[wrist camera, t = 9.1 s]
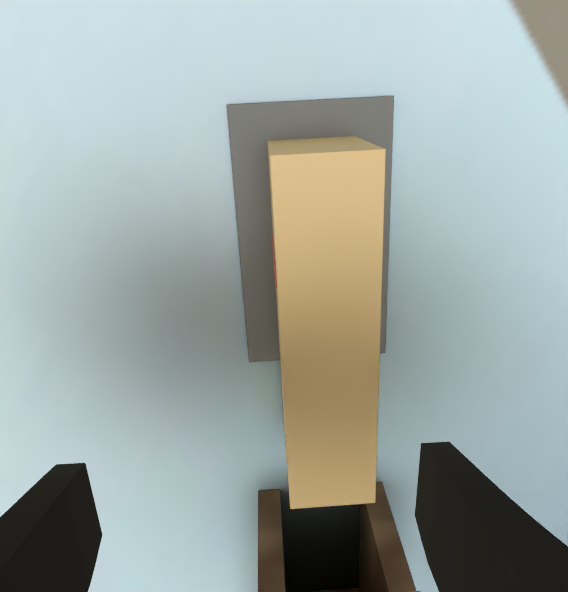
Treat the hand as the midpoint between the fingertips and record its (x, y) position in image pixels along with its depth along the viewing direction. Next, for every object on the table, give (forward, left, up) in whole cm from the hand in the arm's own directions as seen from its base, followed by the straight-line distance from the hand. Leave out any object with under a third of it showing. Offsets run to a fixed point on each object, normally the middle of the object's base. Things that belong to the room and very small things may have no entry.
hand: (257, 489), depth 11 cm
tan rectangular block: (-2, +1, -9) cm, 10 cm away
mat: (-3, -1, -10) cm, 10 cm away
